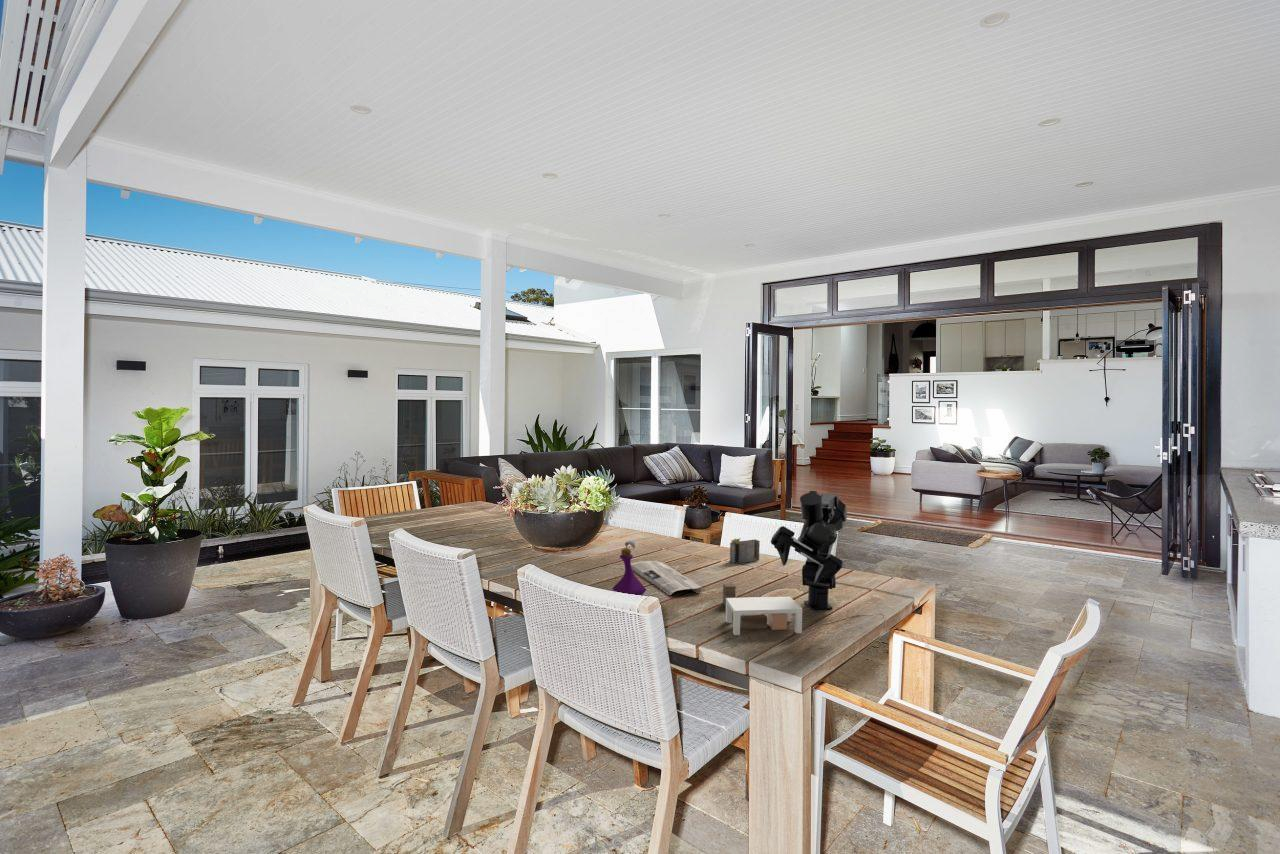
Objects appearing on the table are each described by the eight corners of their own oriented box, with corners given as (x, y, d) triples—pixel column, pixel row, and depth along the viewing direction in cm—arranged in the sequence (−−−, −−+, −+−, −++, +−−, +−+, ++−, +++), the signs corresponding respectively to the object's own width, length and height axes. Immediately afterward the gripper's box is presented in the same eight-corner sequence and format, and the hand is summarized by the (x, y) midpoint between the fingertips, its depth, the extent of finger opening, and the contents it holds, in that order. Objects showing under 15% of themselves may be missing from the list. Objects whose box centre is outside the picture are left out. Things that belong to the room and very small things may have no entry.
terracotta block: (767, 624, 176) (768, 610, 175) (782, 624, 176) (782, 609, 176) (772, 630, 172) (772, 615, 171) (786, 629, 172) (787, 615, 172)
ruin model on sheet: (734, 565, 235) (735, 538, 235) (729, 563, 238) (730, 536, 237) (759, 561, 240) (760, 535, 240) (754, 559, 243) (755, 533, 242)
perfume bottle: (611, 598, 196) (612, 540, 194) (631, 593, 200) (631, 536, 199) (627, 605, 190) (627, 545, 189) (646, 600, 195) (647, 541, 194)
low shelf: (725, 621, 178) (725, 598, 177) (789, 619, 179) (789, 596, 179) (734, 635, 168) (734, 610, 167) (801, 633, 169) (802, 608, 169)
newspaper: (629, 569, 229) (629, 559, 229) (660, 565, 234) (660, 556, 234) (673, 600, 197) (673, 588, 196) (708, 595, 202) (709, 584, 201)
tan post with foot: (722, 603, 192) (723, 583, 192) (747, 602, 193) (747, 583, 193) (739, 629, 172) (740, 607, 172) (767, 628, 173) (767, 606, 172)
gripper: (796, 498, 174) (783, 537, 162) (857, 534, 172) (849, 576, 160) (776, 523, 181) (762, 561, 169) (835, 557, 179) (826, 599, 168)
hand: (800, 573), depth 166 cm, fingers open, 9 cm apart
